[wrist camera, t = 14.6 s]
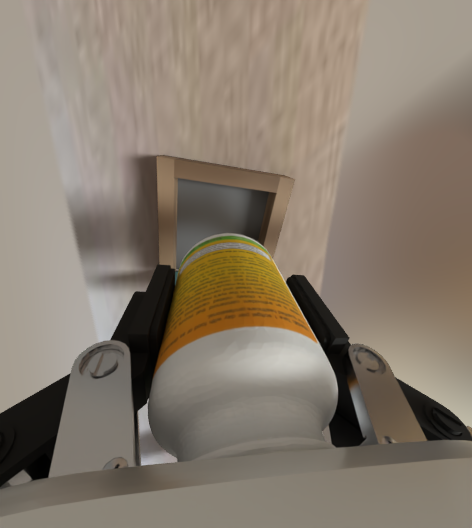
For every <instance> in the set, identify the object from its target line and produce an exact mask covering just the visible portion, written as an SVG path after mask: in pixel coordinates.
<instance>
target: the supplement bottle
mask: <svg viewBox="0 0 472 528" xmlns="http://www.w3.org/2000/svg"><path fill="white" fill-rule="evenodd" d="M337 402H338V386H337V381H336V377H335V374H334V371H333V369H332V367H331V364H330V362H329V361H328V359H327V357H326V355H325V353H324V351H323V349H322V347H321V346H320V344H319V342H318V340H317V338H316V337H315V335H314V333H313V331H312V329H311V328H310V326H309V324H308V322H307V320H306V319H305V317H304V315H303V313H302V311H301V310H300V308H299V306H298V304H297V302H296V300H295V299H294V297H293V295H292V293H291V291H290V290H289V288H288V286H287V284H286V282H285V280H284V279H283V277H282V275H281V273H280V271H279V269H278V268H277V266H276V264H275V262H274V261H273V259H272V257H271V256H270V254H269V252H268V251H267V250H266V249H265V248H264V247H263V246H262V245H261V244H260V243H258V242H257V241H255V240H253V239H252V238H250V237H247V236H244V235H240V234H234V233H223V234H217V235H213V236H210V237H208V238H205V239H203V240H202V241H200V242H198V243H197V244H195V245H194V246H193V247H192V248H191V249H190V250H189V251H188V252H187V254H186V255H185V257H184V258H183V260H182V262H181V265H180V268H179V271H178V275H177V280H176V284H175V288H174V293H173V297H172V301H171V305H170V309H169V313H168V318H167V323H166V326H165V331H164V335H163V339H162V343H161V347H160V351H159V355H158V359H157V363H156V367H155V371H154V375H153V380H152V386H151V391H150V395H149V402H148V419H149V424H150V428H151V431H152V433H153V435H154V437H155V439H156V441H157V442H158V443H159V444H160V446H161V447H162V448H163V449H165V450H166V451H167V452H168V453H169V454H171V455H172V456H174V457H176V458H177V459H178V462H186V461H197V460H208V459H218V458H229V457H240V456H251V455H262V454H273V453H285V452H296V451H307V450H319V449H330V448H336V447H335V446H334V445H332V444H330V443H328V442H325V439H324V436H323V434H322V431H323V430H324V429H325V428H326V427H327V425H328V424H329V422H330V421H331V419H332V418H333V415H334V413H335V410H336V407H337Z"/></svg>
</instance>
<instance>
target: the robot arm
mask: <svg viewBox="0 0 472 528" xmlns="http://www.w3.org/2000/svg"><path fill="white" fill-rule="evenodd" d="M286 284H287V286H288V288H289V290H290V291H291V293H292V295H293V297H294V299H295V300H296V302H297V304H298V306H299V308H300V310H301V311H302V313H303V315H304V317H305V319H306V320H307V322H308V324H309V326H310V328H311V329H312V331H313V333H314V335H315V337H316V338H317V340H318V342H319V344H320V346H321V347H322V349H323V351H324V353H325V355H326V357H327V359H328V361H329V362H330V364H331V367H332V369H333V371H334V374H335V377H336V381H337V386H338V402H337V407H336V410H335V413H334V415H333V418H332V419H331V421H330V422H329V424H328V425H327V427H326V428H325V429H324V430H323V436H324V439H325V442H328V443H330V444H332V445H334V446H335V447H336V448H330V449H319V450H307V451H296V452H285V453H273V454H262V455H251V456H240V457H229V458H218V459H208V460H197V461H186V462H176V463H165V464H154V465H144V466H141V454H140V436H139V417H138V410H139V409H141V408H142V407H143V406H144V405H145V404H146V403H147V400H148V398H149V395H150V391H151V386H152V380H153V375H154V371H155V367H156V363H157V359H158V355H159V351H160V347H161V343H162V339H163V335H164V331H165V326H166V323H167V318H168V313H169V309H170V305H171V301H172V297H173V293H174V288H175V269H173V268H171V265H161V264H158V265H157V267H156V269H155V272H154V274H153V276H152V279H151V281H150V283H149V286H148V288H147V290H146V292H137V291H136V292H135V293H134V294H133V296H132V298H131V300H130V302H129V304H128V306H127V308H126V310H125V312H124V314H123V316H122V318H121V320H120V322H119V324H118V326H117V328H116V330H115V332H114V334H113V336H112V338H111V340H109V341H103V342H100V343H96V344H94V345H93V346H91V347H89V348H87V349H86V350H85V351H83V352H82V353H81V354H80V355H79V356H78V358H77V359H76V360H75V362H74V364H73V366H72V370H71V373H70V374H69V375H67V376H65V377H63V378H62V379H60V380H58V381H56V382H55V383H53V384H51V385H49V386H48V387H46V388H44V389H43V390H41V391H39V392H37V393H35V394H34V395H32V396H30V397H28V398H27V399H25V400H23V401H21V402H20V403H18V404H16V405H14V406H13V407H11V408H9V409H7V410H6V411H4V412H2V413H1V414H0V528H472V428H471V427H469V426H467V427H466V426H465V425H464V424H463V423H462V421H461V420H460V419H459V418H458V417H457V416H455V414H453V413H452V412H451V411H450V410H449V409H447V408H446V407H444V406H443V405H441V404H439V403H438V402H436V401H434V400H433V399H431V398H429V397H428V396H426V395H424V394H422V393H421V392H419V391H418V390H416V389H414V388H412V387H411V386H409V385H407V384H406V383H404V382H402V381H401V380H399V379H397V378H396V377H395V376H394V374H393V372H392V370H391V368H390V366H389V364H388V363H387V361H386V360H385V359H384V358H383V357H382V356H381V355H380V354H379V353H378V352H376V351H375V350H373V349H372V348H370V347H368V346H365V345H363V344H352V345H351V344H350V343H349V342H348V340H349V337H348V335H347V334H346V333H345V331H344V330H343V328H342V327H341V326H340V324H339V323H338V322H337V320H336V319H335V317H334V316H333V315H332V313H331V312H330V310H329V309H328V308H327V307H326V305H325V304H324V302H323V301H322V299H321V298H320V297H319V295H318V294H317V293H316V291H315V290H314V288H313V287H312V286H311V284H310V283H309V282H308V280H307V279H306V277H305V276H303V275H292V276H291V277H288V279H287V281H286Z"/></svg>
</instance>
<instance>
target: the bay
mask: <svg viewBox="0 0 472 528" xmlns="http://www.w3.org/2000/svg"><path fill="white" fill-rule="evenodd" d="M294 181H295V179H292V178H290V177H287V176H284V175H278V174H272V173H267V172H261V171H255V170H249V169H243V168H237V167H231V166H225V165H219V164H213V163H207V162H201V161H195V160H189V159H184V158H178V157H172V156H166V155H161V156H157V193H158V231H159V264H161V265H171V268H173V269H175V271H176V269H179V268H180V265H181V262H182V260H183V258H184V257H185V255H186V254H187V252H188V251H189V250H190V249H191V248H192V247H193V246H194V245H195V244H197V243H198V242H200V241H202V240H203V239H205V238H208V237H210V236H213V235H217V234H223V233H234V234H240V235H244V236H247V237H250V238H252V239H253V240H255V241H257V242H258V243H260V244H261V245H262V246H263V247H264V248H265V249H266V250H267V251H268V252H269V254H270V256H271V257H272V259H273V256H274V253H275V249H276V246H277V242H278V238H279V235H280V231H281V228H282V224H283V220H284V217H285V213H286V210H287V206H288V203H289V199H290V195H291V192H292V188H293V185H294Z"/></svg>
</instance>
